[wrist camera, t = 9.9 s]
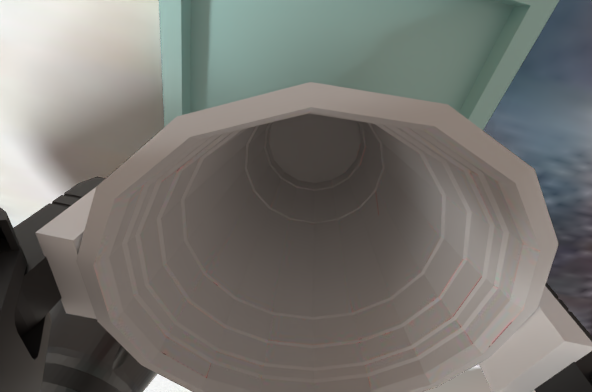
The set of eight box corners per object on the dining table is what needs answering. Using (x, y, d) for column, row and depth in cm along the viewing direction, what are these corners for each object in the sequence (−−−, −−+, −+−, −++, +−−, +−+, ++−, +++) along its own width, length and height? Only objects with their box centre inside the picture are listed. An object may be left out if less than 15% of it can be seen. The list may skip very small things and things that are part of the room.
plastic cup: (398, 216, 19) (485, 440, 9) (242, 215, 20) (161, 416, 10) (433, 31, 13) (776, 74, 3) (211, 41, 14) (-53, 98, 4)
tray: (396, 251, 26) (401, 268, 24) (178, 205, 25) (168, 219, 23) (542, -15, 15) (570, -19, 14) (172, -113, 14) (153, -131, 13)
